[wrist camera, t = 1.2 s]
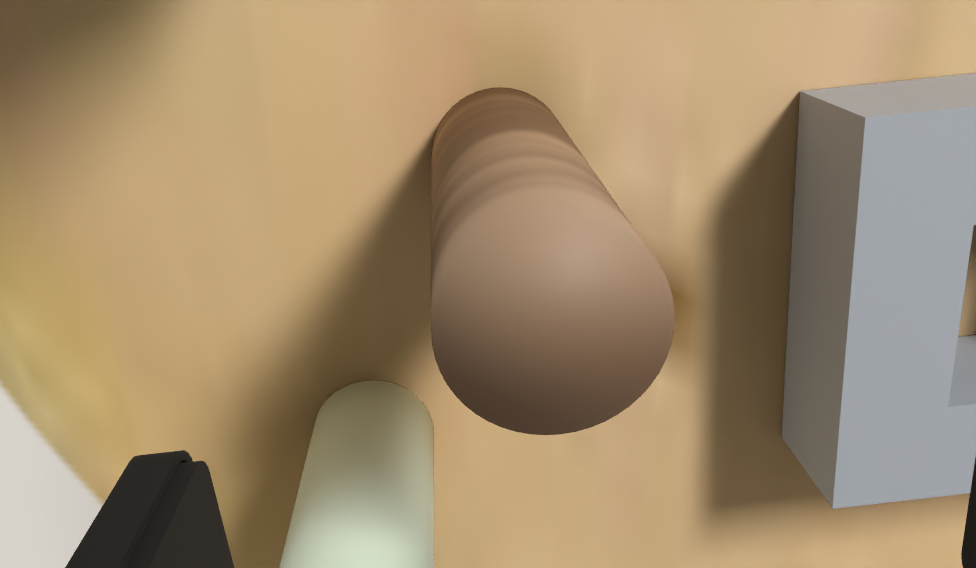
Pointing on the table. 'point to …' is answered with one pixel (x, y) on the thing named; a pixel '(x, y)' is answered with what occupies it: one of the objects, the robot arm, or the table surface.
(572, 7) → the table surface
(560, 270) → the walnut peg
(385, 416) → the sage peg
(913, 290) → the socket block
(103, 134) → the table surface
